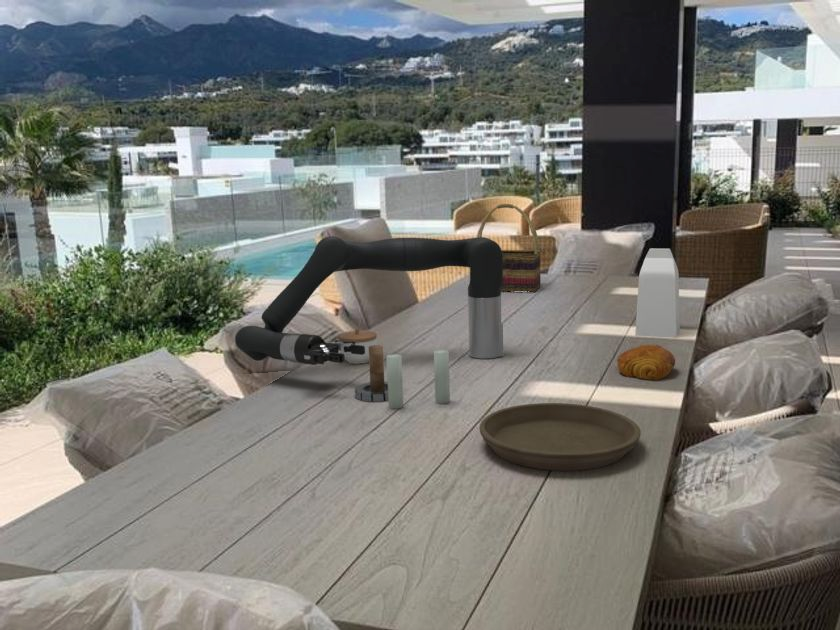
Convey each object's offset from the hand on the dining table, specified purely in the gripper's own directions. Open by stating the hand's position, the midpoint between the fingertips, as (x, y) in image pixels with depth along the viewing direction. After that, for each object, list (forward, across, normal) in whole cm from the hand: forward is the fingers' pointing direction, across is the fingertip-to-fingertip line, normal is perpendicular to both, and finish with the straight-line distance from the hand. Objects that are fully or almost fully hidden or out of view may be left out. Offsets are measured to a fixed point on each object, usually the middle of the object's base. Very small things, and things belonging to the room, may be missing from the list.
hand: (354, 354), depth 206 cm
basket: (-29, +147, +10) cm, 151 cm away
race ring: (+7, -1, +9) cm, 12 cm away
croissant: (+58, +46, +11) cm, 75 cm away
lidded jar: (-17, +24, +10) cm, 31 cm away
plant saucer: (+59, -14, +10) cm, 61 cm away
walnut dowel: (+7, 0, +9) cm, 12 cm away
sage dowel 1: (+16, -6, +9) cm, 20 cm away
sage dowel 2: (+24, +1, +10) cm, 26 cm away
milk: (+48, +92, +11) cm, 104 cm away
